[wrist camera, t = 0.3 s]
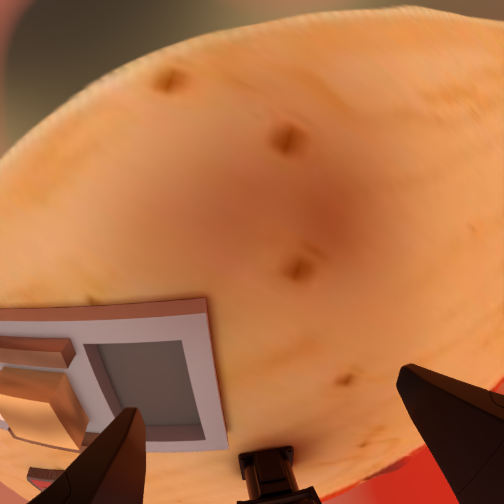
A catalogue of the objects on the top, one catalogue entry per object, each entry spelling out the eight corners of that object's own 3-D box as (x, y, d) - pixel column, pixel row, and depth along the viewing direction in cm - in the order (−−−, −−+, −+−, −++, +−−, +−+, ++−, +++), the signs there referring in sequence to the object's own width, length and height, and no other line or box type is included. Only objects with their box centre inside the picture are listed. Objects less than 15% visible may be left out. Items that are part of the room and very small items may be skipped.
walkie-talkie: (56, 490, 28) (141, 495, 30) (51, 507, 24) (140, 517, 26) (24, 463, 26) (108, 468, 27) (17, 481, 22) (103, 493, 23)
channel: (119, 443, 22) (116, 457, 20) (19, 427, 20) (14, 438, 18) (70, 338, 18) (60, 352, 16) (-33, 332, 16) (-43, 342, 15)
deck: (226, 431, 26) (229, 449, 24) (-19, 408, 21) (-25, 419, 19) (205, 297, 22) (205, 312, 19) (-68, 307, 17) (-79, 315, 15)
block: (89, 420, 21) (79, 450, 17) (29, 411, 20) (16, 436, 16) (65, 372, 19) (48, 403, 15) (3, 366, 18) (-15, 390, 14)
